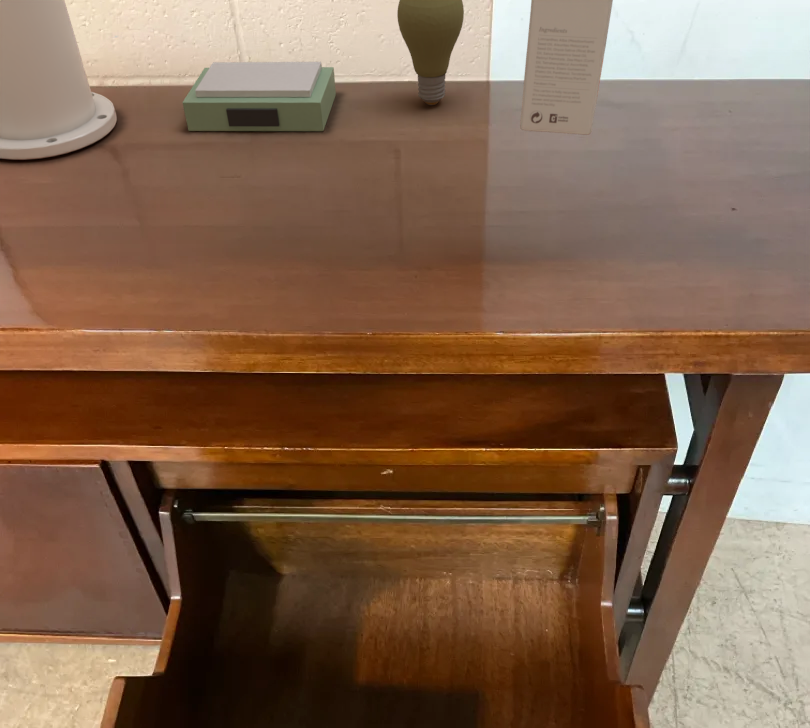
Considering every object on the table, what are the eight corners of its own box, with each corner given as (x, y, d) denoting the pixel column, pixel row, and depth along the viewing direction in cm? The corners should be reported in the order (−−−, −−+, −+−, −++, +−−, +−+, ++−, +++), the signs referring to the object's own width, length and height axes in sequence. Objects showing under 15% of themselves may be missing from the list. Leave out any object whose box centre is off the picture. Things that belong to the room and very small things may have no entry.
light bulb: (399, 116, 74) (394, -15, 67) (402, 91, 78) (397, -35, 70) (462, 115, 74) (464, -16, 66) (462, 90, 78) (464, -37, 70)
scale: (187, 132, 73) (179, 96, 71) (209, 95, 79) (203, 60, 77) (323, 132, 72) (319, 95, 70) (336, 94, 78) (333, 59, 76)
